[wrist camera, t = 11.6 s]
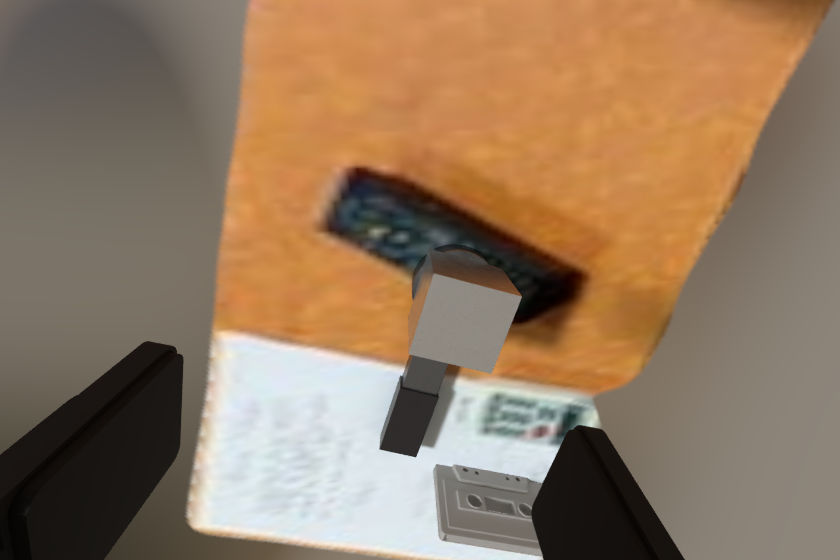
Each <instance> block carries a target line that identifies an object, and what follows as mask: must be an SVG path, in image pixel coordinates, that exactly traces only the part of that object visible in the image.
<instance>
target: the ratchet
mask: <svg viewBox="0 0 840 560" xmlns="http://www.w3.org/2000/svg"><path fill="white" fill-rule="evenodd" d="M434 250H436V251H439V252H443V253H447V254H450V255H454V256H458V257H462V258H465V259H469V260H473V261H476V262H480V263H484V264H487V265H489V263H488V262H487V260H486V259H485V258H484V257H483V256H482V255H481V254H480V253H479V252H477V251H476V250H474V249H472V248H470V247H467V246H463V245H456V244H454V245H445V246H441V247H438V248H436V249H434ZM426 256H427V254H426V255H425V256H424V257H423V258H422V259H421V260H420V262H419V263H418V265H417V267H416V268H415V271H414V273H413V278H412V298H413V299H414V296H415V293H416V289H417V286H418V283H419V279H420V276H421V273H422V270H423V266H424V263H425V260H426ZM447 366H448V363H444V362H440V361H435V360H431V359H427V358H423V357H418V356H414V355H409V358H408V361H407V364H406V367H405V370H404V373H403V376H400V378H399V381H398V384H397V387H396V390H395V393H394V396H393V399H392V402H391V405H390V408H389V411H388V414H387V417H386V420H385V423H384V426H383V429H382V432H381V437H380V450H385V451H389V452H394V453H399V454H403V455H408V456H412V457H416V456H417V454H418V451H419V448H420V446H421V443H422V440H423V438H424V435H425V432H426V430H427V427H428V425H429V422H430V419H431V417H432V414H433V411H434V409H435V406H436V403H437V401H438V398H439V396H438V390H439V387H440V385H441V382H442V379H443V377H444V374H445V371H446V369H447Z"/></svg>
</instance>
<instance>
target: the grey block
mask: <svg viewBox="0 0 840 560" xmlns="http://www.w3.org/2000/svg"><path fill="white" fill-rule="evenodd" d="M521 298H522V296H521V294H520V293H519V292H518V290H517V289H516V288H515V286H514V285H513V283H512V282H511V281H510V279H509V278H508V277H507V275H506V274H505V273H504V271H503V270H502V268H499V267H495V266H491V265H487V264H484V263H480V262H476V261H473V260H469V259H465V258H462V257H458V256H454V255H450V254H447V253H443V252H439V251H436V250H432V249H429V250H428V253H427V256H426V260H425V263H424V266H423V270H422V273H421V276H420V279H419V283H418V286H417V289H416V293H415V296H414V299H413V303H412V306H411V309H410V312H409V316H408V354H410V355H414V356H418V357H423V358H427V359H431V360H435V361H440V362H444V363H448V364H452V365H457V366H461V367H465V368H469V369H474V370H478V371H482V372H486V373H491V374H492V371H493V369H494V366H495V364H496V361H497V359H498V356H499V354H500V351H501V349H502V346H503V344H504V341H505V339H506V336H507V333H508V331H509V328H510V326H511V323H512V321H513V318H514V316H515V313H516V311H517V308H518V306H519V303H520V301H521Z"/></svg>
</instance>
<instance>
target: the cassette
mask: <svg viewBox="0 0 840 560" xmlns="http://www.w3.org/2000/svg"><path fill="white" fill-rule="evenodd" d="M433 473H434V485H435V497H436V509H437V521H438V533H439V538H440V540H442V541H447V542H453V543H459V544H466V545H472V546H478V547H485V548H491V549H497V550H503V551H510V552H516V553H522V554H528V555H535V556H541V557H543V555H542V552H541V549H540V546H539V542H538V539H537V536H536V532H535V529H534V526H533V522H532V516H531V510H532V505H533V503H534V501H535V499H536V497H537V494H538V492H539V490H540V488H541V486H542V483H537V482H532V481H528V478H525V477H520V476H514V475H509V474H503V473H498V472H492V471H487V470H481V469H476V468H471V467H465V466H460V465H453V466H452V467H450V466H444V465H439V464H436V466H435V468H434V470H433ZM488 510H489V511H488ZM493 511H495V512H493ZM499 512H501V513H499ZM505 513H507V514H505Z"/></svg>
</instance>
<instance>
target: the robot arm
mask: <svg viewBox="0 0 840 560" xmlns="http://www.w3.org/2000/svg"><path fill="white" fill-rule="evenodd" d="M182 381H183V356H182V355H181V354H177V350H176V348H175V347H173V346H170V345H165V344H160V343H155V342H150V341H147V342H144V343H142V344H141V345H140V346H138V347H137V348H136V349H135V350H133V351H132V352H131V353H130V354H129V355H127V356H126V357H125V358H124V359H122V360H121V361H120V362H119V363H117V364H116V365H115V366H114V367H112V368H111V369H110V370H109V371H107V372H106V373H105V374H104V375H102V376H101V377H100V378H99V379H97V380H96V381H95V382H94V383H92V384H91V385H90V386H89V387H88V388H86V389H85V390H84V391H82V392H81V393H80V394H79V395H76V396H75V397H73V398H71V399H70V400H68V401H67V402H66V403H65V404H63V405H62V406H61V407H60V408H58V409H57V410H56V411H55V412H53V413H52V414H51V415H50V416H48V417H47V418H46V419H44V420H43V421H42V422H41V423H39V424H38V425H37V426H36V427H35V428H33V429H32V430H31V431H29V432H28V433H27V434H26V435H24V436H23V437H22V438H21V439H19V440H18V441H17V442H16V443H14V444H13V445H12V446H11V447H9V449H7V450H6V451H4V452H3V453H2V454H1V455H0V560H104V559H105V557H106V556H107V554H108V553H109V552H110V550H111V549H112V547H113V546H114V545H115V543H116V542H117V540H118V539H119V538H120V536H121V535H122V533H123V532H124V531H125V529H126V528H127V526H128V525H129V523H130V522H131V521H132V519H133V518H134V517H135V515H136V514H137V512H138V511H139V510H140V508H141V507H142V505H143V504H144V503H145V501H146V500H147V498H148V497H149V496H150V494H151V493H152V491H153V490H154V488H155V487H156V486H157V484H158V483H159V481H160V480H161V479H162V477H163V476H164V474H165V473H166V472H167V470H168V469H169V467H170V466H171V465H172V463H173V462H174V460H175V458H176V456H177V454H178V451H179V447H180V434H181V433H180V432H181V408H182V383H183V382H182ZM531 516H532V522H533V526H534V529H535V532H536V536H537V539H538V542H539V546H540V549H541V552H542V555H543V559H544V560H685V559H684V558H683V556H682V555H681V553H680V551H679V550H678V548H677V547H676V545H675V543H674V542H673V540H672V539H671V537H670V535H669V534H668V532H667V531H666V529H665V527H664V526H663V524H662V523H661V521H660V519H659V518H658V516H657V515H656V513H655V511H654V510H653V508H652V507H651V505H650V504H649V502H648V500H647V499H646V497H645V496H644V494H643V492H642V491H641V489H640V488H639V486H638V484H637V483H636V481H635V480H634V478H633V477H632V475H631V473H630V472H629V470H628V468H627V467H626V465H625V464H624V462H623V460H622V459H621V457H620V456H619V454H618V452H617V451H616V449H615V448H614V446H613V444H612V443H611V441H610V440H609V438H608V436H607V435H606V433H605V432H604V431H603V430H601V429H598V428H593V427H587V426H582V425H577V426H576V427H575V428H574V429H573V430H569V431H568V432H567V434H566V436H565V438H564V440H563V442H562V444H561V446H560V448H559V450H558V453H557V455H556V457H555V459H554V461H553V463H552V465H551V467H550V469H549V471H548V473H547V476H546V478H545V480H544V482H543V484H542V486H541V488H540V490H539V492H538V494H537V497H536V499H535V501H534V503H533V505H532V510H531Z"/></svg>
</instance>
